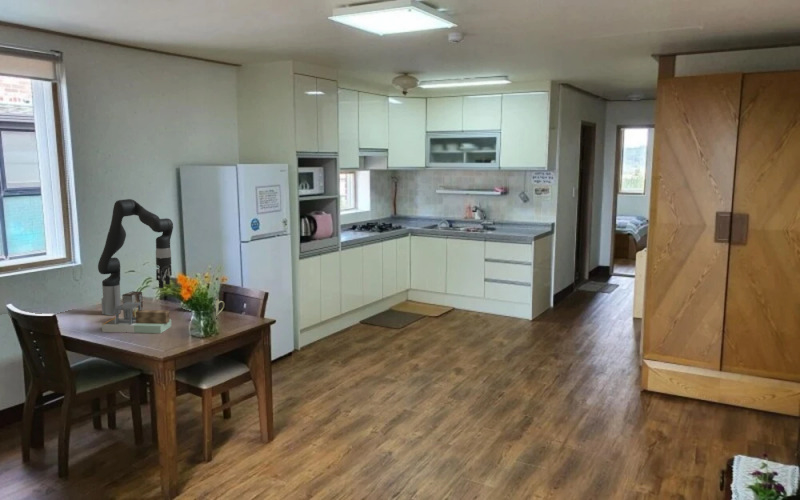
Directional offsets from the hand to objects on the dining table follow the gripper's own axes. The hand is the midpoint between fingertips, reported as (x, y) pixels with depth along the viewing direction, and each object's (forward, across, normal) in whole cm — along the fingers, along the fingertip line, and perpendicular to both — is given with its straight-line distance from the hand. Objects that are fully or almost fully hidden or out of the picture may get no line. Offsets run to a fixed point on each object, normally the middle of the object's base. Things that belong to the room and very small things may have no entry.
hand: (164, 286), depth 310 cm
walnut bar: (+20, 0, -7) cm, 21 cm away
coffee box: (+24, -16, -25) cm, 38 cm away
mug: (+24, -22, +18) cm, 37 cm away
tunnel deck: (+24, 0, -15) cm, 28 cm away
